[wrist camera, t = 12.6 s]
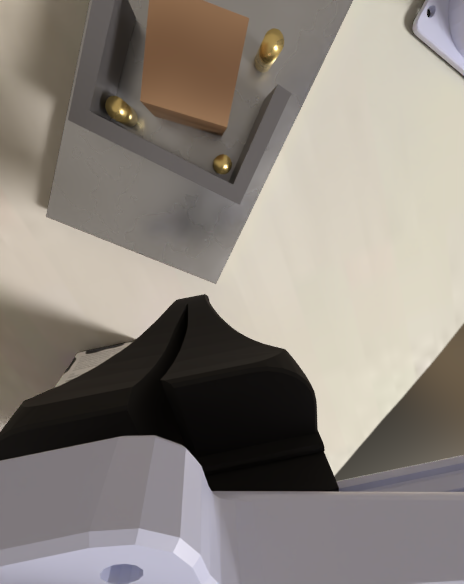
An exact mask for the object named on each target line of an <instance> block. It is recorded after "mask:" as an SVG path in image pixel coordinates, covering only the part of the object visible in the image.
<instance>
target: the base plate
mask: <svg viewBox="0 0 464 584" xmlns="http://www.w3.org/2000/svg"><path fill="white" fill-rule="evenodd" d="M128 1H129V3H130V5H131V8H132V10H133V12H134V14H135V17H136V20H135V24H134V28H133V32H132V35H131V39H130V43H129V47H128V51H127V55H126V59H125V63H124V67H123V71H122V74H121V78H120V82H119V86H118V90H117V94H116V96H110V97H109V98H108V99H107V100H106V103H105V108H106V111H107V113H108V115H109V116H110V122H112V123H114V124H116V125H118V126H120V127H122V128H124V129H126V130H128V131H130V132H132V133H134V134H136V135H138V136H140V137H142V138H143V139H145V140H147V141H149V142H151V143H153V144H155V145H157V146H159V147H161V148H163V149H165V150H167V151H169V152H171V153H173V154H175V155H177V156H179V157H181V158H182V159H184V160H186V161H188V162H190V163H192V164H194V165H196V166H198V167H200V168H202V169H204V170H206V171H208V172H210V173H212V174H214V175H216V176H218V177H220V178H221V179H223V180H225V181H227V182H229V180H230V178H231V175H232V173H233V171H234V168H235V166H236V164H237V161H238V159H239V157H240V155H241V152H242V150H243V148H244V145H245V143H246V141H247V138H248V136H249V134H250V132H251V129H252V127H253V125H254V122H255V120H256V118H257V115H258V113H259V111H260V109H261V106H262V104H263V102H264V99H265V98H266V97H267V96H268V95H269V93H270V92H271V91H272V90H273V89H274V88H275V87H276V85H277V84H278V85H280V86H281V87H283V88H284V89H286V90H287V91H289V92H291V96H290V98H289V100H288V102H287V104H286V106H285V108H284V111H283V113H282V115H281V117H280V119H279V121H278V124H277V126H276V128H275V130H274V132H273V134H272V137H271V139H270V141H269V143H268V145H267V147H266V149H265V152H264V154H263V156H262V158H261V160H260V162H259V165H258V167H257V169H256V171H255V173H254V175H253V177H252V180H251V182H250V184H249V186H248V188H247V190H246V193H245V195H244V197H243V199H242V201H241V203H240V205H239V204H237V203H235V202H233V201H231V200H229V199H227V198H225V197H223V196H221V195H219V194H217V193H215V192H213V191H210V190H208V189H206V188H204V187H202V186H200V185H198V184H196V183H194V182H192V181H190V180H188V179H186V178H184V177H182V176H180V175H178V174H176V173H174V172H172V171H170V170H168V169H166V168H164V167H162V166H160V165H158V164H156V163H154V162H152V161H150V160H148V159H146V158H144V157H142V156H140V155H138V154H136V153H134V152H132V151H129V150H127V149H125V148H123V147H121V146H119V145H117V144H115V143H113V142H111V141H109V140H107V139H105V138H103V137H101V136H99V135H97V134H95V133H93V132H91V131H89V130H87V129H85V128H83V127H81V126H79V125H77V124H75V123H73V122H71V121H69V120H68V117H69V112H70V107H71V102H72V97H73V92H74V87H75V82H76V78H77V73H78V68H79V63H80V58H81V53H82V48H83V43H84V39H85V34H86V29H87V24H88V19H89V14H90V9H91V4H92V0H90V2H89V7H88V12H87V17H86V21H85V26H84V31H83V36H82V41H81V46H80V51H79V56H78V61H77V66H76V71H75V76H74V81H73V86H72V91H71V96H70V100H69V105H68V110H67V115H66V120H65V125H64V130H63V135H62V140H61V145H60V150H59V155H58V160H57V165H56V170H55V175H54V179H53V184H52V189H51V194H50V199H49V204H48V209H47V214H46V217H48V218H51V219H53V220H56V221H58V222H61V223H63V224H66V225H68V226H71V227H73V228H76V229H78V230H81V231H83V232H86V233H88V234H91V235H94V236H96V237H99V238H101V239H104V240H106V241H109V242H111V243H114V244H116V245H119V246H121V247H124V248H126V249H129V250H131V251H134V252H136V253H139V254H142V255H144V256H147V257H149V258H152V259H154V260H157V261H159V262H162V263H164V264H167V265H169V266H172V267H174V268H177V269H179V270H182V271H184V272H187V273H189V274H192V275H195V276H197V277H200V278H202V279H205V280H207V281H210V282H212V283H215V284H216V283H217V281H218V279H219V277H220V275H221V272H222V270H223V268H224V266H225V264H226V262H227V260H228V258H229V256H230V254H231V252H232V250H233V248H234V246H235V244H236V241H237V239H238V237H239V235H240V233H241V231H242V229H243V227H244V225H245V223H246V221H247V219H248V217H249V215H250V212H251V210H252V208H253V206H254V204H255V202H256V200H257V198H258V196H259V194H260V192H261V190H262V188H263V186H264V184H265V181H266V179H267V177H268V175H269V173H270V171H271V169H272V167H273V165H274V163H275V161H276V159H277V157H278V155H279V152H280V150H281V148H282V146H283V144H284V142H285V140H286V138H287V136H288V134H289V132H290V130H291V128H292V126H293V123H294V121H295V119H296V117H297V115H298V113H299V111H300V109H301V107H302V105H303V103H304V101H305V99H306V97H307V95H308V92H309V90H310V88H311V86H312V84H313V82H314V80H315V78H316V76H317V74H318V72H319V70H320V68H321V66H322V63H323V61H324V59H325V57H326V55H327V53H328V51H329V49H330V47H331V45H332V43H333V41H334V39H335V37H336V35H337V32H338V30H339V28H340V26H341V24H342V22H343V20H344V18H345V16H346V14H347V12H348V10H349V8H350V6H351V3H352V1H353V0H204V1H206V2H209V3H211V4H214V5H216V6H219V7H222V8H224V9H227V10H229V11H232V12H235V13H237V14H240V15H242V16H245V17H247V18H249V22H248V27H247V32H246V37H245V42H244V47H243V52H242V57H241V62H240V67H239V71H238V76H237V81H236V86H235V91H234V96H233V101H232V106H231V111H230V115H229V120H228V125H227V128H226V130H225V132H224V133H223V135H222V136H219V135H216V134H212V133H209V132H206V131H202V130H199V129H195V128H192V127H189V126H185V125H182V124H178V123H175V122H172V121H168V120H165V119H161V118H158V117H155V116H154V115H153V114H152V113H151V112H150V111H149V110H148V109H147V108H146V107H145V106H144V105H143V103H142V102H141V101H140V97H141V85H142V74H143V63H144V51H145V40H146V29H147V17H148V6H149V0H128Z"/></svg>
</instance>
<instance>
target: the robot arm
mask: <svg viewBox="0 0 464 584" xmlns="http://www.w3.org/2000/svg"><path fill="white" fill-rule="evenodd" d="M428 9H429V10H430V17H428V16H427V10H428ZM413 32H414V34H415V35H416V36H417V37H418V38H420V39H421V40H422V41H423V42H424V43H426V44H427V45H428V46H429V47H430V48H431V49H433V50H434V51H435V52H436V53H437V54H439V55H440V56H441V57H442V58H443V59H444V60H446V61H447V62H448V63H449V64H450V65H452V66H453V67H454V68H455V69H456V70H457V71H459V72H460V73H461V74H462V75H463V76H464V0H425V2H424V4H423V6H422V7H421V9H420V11H419V13H418V14H417V16H416V18H415V20H414V22H413ZM0 584H464V455H461V456H457V457H452V458H447V459H442V460H437V461H432V462H428V463H423V464H418V465H413V466H408V467H403V468H399V469H394V470H389V471H384V472H380V473H375V474H370V475H365V476H360V477H356V478H351V479H346V480H341V481H336V480H335V477H334V475H333V472H332V470H331V468H330V465H329V463H328V461H327V458H326V456H325V454H324V444H323V442H322V439H321V437H320V435H319V432H318V430H317V404H316V397H315V393H314V390H313V388H312V386H311V384H310V382H309V380H308V379H307V377H306V375H305V374H304V372H303V371H302V370H301V368H300V367H299V365H298V364H297V363H296V361H295V360H294V359H293V358H292V357H291V355H290V354H289V353H288V352H287V351H286V350H285V349H282V348H278V347H274V346H270V345H266V344H262V343H260V342H257V341H255V340H252V339H250V338H248V337H246V336H244V335H242V334H240V333H239V332H237V331H236V330H234V329H233V328H232V327H231V326H229V325H228V324H227V323H226V322H225V321H224V320H223V319H222V318H221V317H220V316H219V315H218V314H217V312H216V311H215V310H214V309H213V307H212V306H211V304H210V302H209V298H208V296H207V295H205V294H204V295H199V296H194V297H189V298H183V299H178V300H176V301H175V302H174V303H173V304H172V305H171V306H170V307H169V308H168V309H167V310H166V311H165V312H164V313H163V314H162V315H161V317H160V318H159V319H158V320H157V321H156V322H155V323H154V324H153V325H151V326H150V327H149V328H148V329H147V330H146V331H145V332H144V333H143V334H142V335H141V336H140V337H138V338H137V339H136V340H135V341H134V342H132V343H131V344H130V345H128V346H127V347H126V348H124V349H123V350H121V351H120V352H119V353H117V354H115V355H114V356H112V357H111V358H109V359H108V360H106V361H105V362H103V363H101V364H100V365H98V366H96V367H95V368H93V369H91V370H89V371H87V372H86V373H84V374H82V375H80V376H78V377H76V378H74V379H72V380H70V381H68V382H66V383H64V384H62V385H60V386H57V387H55V388H53V389H51V390H48V391H46V392H44V393H42V394H39V395H37V396H35V397H33V398H30V399H28V400H25V401H24V402H23V403H22V404H21V405H20V407H19V408H18V409H17V411H16V412H15V413H14V415H13V416H12V417H11V419H10V420H9V421H8V423H7V424H6V425H5V427H4V428H3V429H2V431H1V432H0Z"/></svg>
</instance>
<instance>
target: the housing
mask: <svg viewBox="0 0 464 584" xmlns="http://www.w3.org/2000/svg"><path fill="white" fill-rule="evenodd" d="M135 20H136V17H135V14H134V12H133V10H132V8H131V5H130V3H129V1H128V0H92V4H91V9H90V14H89V19H88V24H87V29H86V34H85V39H84V43H83V48H82V53H81V58H80V63H79V68H78V73H77V78H76V82H75V87H74V92H73V97H72V102H71V107H70V112H69V117H68V120H69V121H71V122H73V123H75V124H77V125H79V126H81V127H83V128H85V129H87V130H89V131H91V132H93V133H95V134H97V135H99V136H101V137H103V138H105V139H107V140H109V141H111V142H113V143H115V144H117V145H119V146H121V147H123V148H125V149H127V150H129V151H132V152H134V153H136V154H138V155H140V156H142V157H144V158H146V159H148V160H150V161H152V162H154V163H156V164H158V165H160V166H162V167H164V168H166V169H168V170H170V171H172V172H174V173H176V174H178V175H180V176H182V177H184V178H186V179H188V180H190V181H192V182H194V183H196V184H198V185H200V186H202V187H204V188H206V189H208V190H210V191H213V192H215V193H217V194H219V195H221V196H223V197H225V198H227V199H229V200H231V201H233V202H235V203H237V204H239V205H240V203H241V201H242V199H243V197H244V195H245V193H246V190H247V188H248V186H249V184H250V182H251V180H252V177H253V175H254V173H255V171H256V169H257V167H258V165H259V162H260V160H261V158H262V156H263V154H264V152H265V149H266V147H267V145H268V143H269V141H270V139H271V137H272V134H273V132H274V130H275V128H276V126H277V124H278V121H279V119H280V117H281V115H282V113H283V111H284V108H285V106H286V104H287V102H288V100H289V98H290V96H291V92H289V91H287V90H286V89H284V88H283V87H281V86H280V85H278V84H277V85H276V87H275V88H274V89H273V90H272V91H271V92H270V93H269V95H268V96H267V97H266V98H265V99H264V102H263V104H262V106H261V109H260V111H259V113H258V115H257V118H256V120H255V122H254V125H253V127H252V129H251V132H250V134H249V136H248V138H247V141H246V143H245V145H244V148H243V150H242V152H241V155H240V157H239V159H238V161H237V164H236V166H235V168H234V171H233V173H232V175H231V178H230V180H229V182H227V181H225V180H223V179H221V178H220V177H218V176H216V175H214V174H212V173H210V172H208V171H206V170H204V169H202V168H200V167H198V166H196V165H194V164H192V163H190V162H188V161H186V160H184V159H182V158H181V157H179V156H177V155H175V154H173V153H171V152H169V151H167V150H165V149H163V148H161V147H159V146H157V145H155V144H153V143H151V142H149V141H147V140H145V139H143V138H142V137H140V136H138V135H136V134H134V133H132V132H130V131H128V130H126V129H124V128H122V127H120V126H118V125H116V124H114V123H112V122H110V116H109V115H108V113H107V111H106V108H105V103H106V100H107V99H108V98H109V97H110V96H116V94H117V90H118V86H119V82H120V78H121V74H122V71H123V67H124V63H125V59H126V55H127V51H128V47H129V43H130V39H131V35H132V32H133V28H134V24H135Z"/></svg>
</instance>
